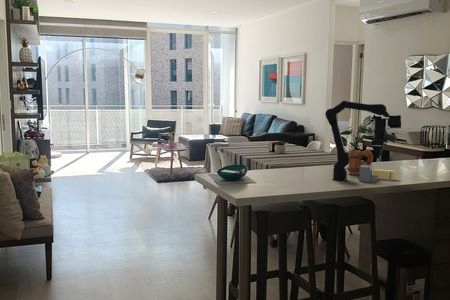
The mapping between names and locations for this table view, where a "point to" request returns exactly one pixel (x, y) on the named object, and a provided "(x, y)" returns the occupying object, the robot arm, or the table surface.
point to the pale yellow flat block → (384, 174)
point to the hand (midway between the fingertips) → (379, 157)
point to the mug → (358, 160)
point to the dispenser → (367, 174)
